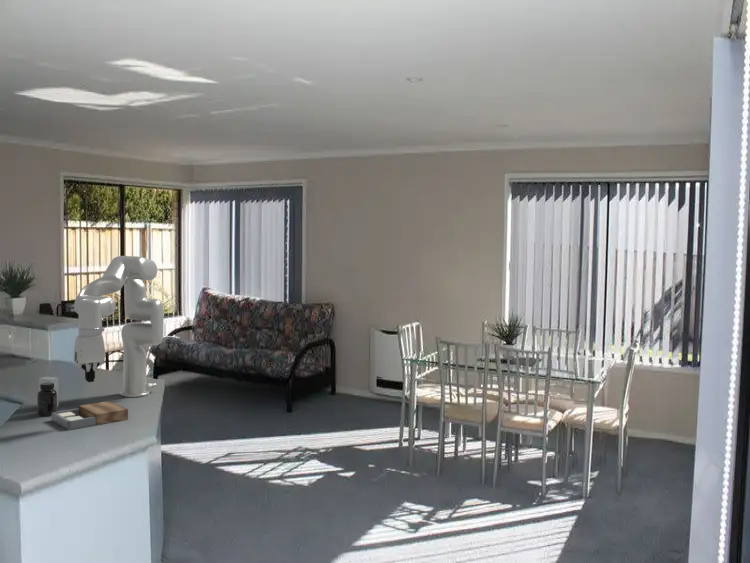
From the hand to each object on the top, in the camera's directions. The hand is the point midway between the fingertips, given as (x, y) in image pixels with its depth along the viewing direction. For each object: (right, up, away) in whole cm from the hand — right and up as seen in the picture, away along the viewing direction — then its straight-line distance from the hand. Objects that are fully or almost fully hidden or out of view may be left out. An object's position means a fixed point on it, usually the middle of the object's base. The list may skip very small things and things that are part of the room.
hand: (90, 381), depth 242 cm
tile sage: (-4, -13, -3) cm, 14 cm away
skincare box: (-26, -14, +20) cm, 36 cm away
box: (-6, -15, 0) cm, 17 cm away
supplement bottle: (-21, -15, +11) cm, 28 cm away
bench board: (+1, -15, +8) cm, 17 cm away
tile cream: (-10, -13, +2) cm, 16 cm away
